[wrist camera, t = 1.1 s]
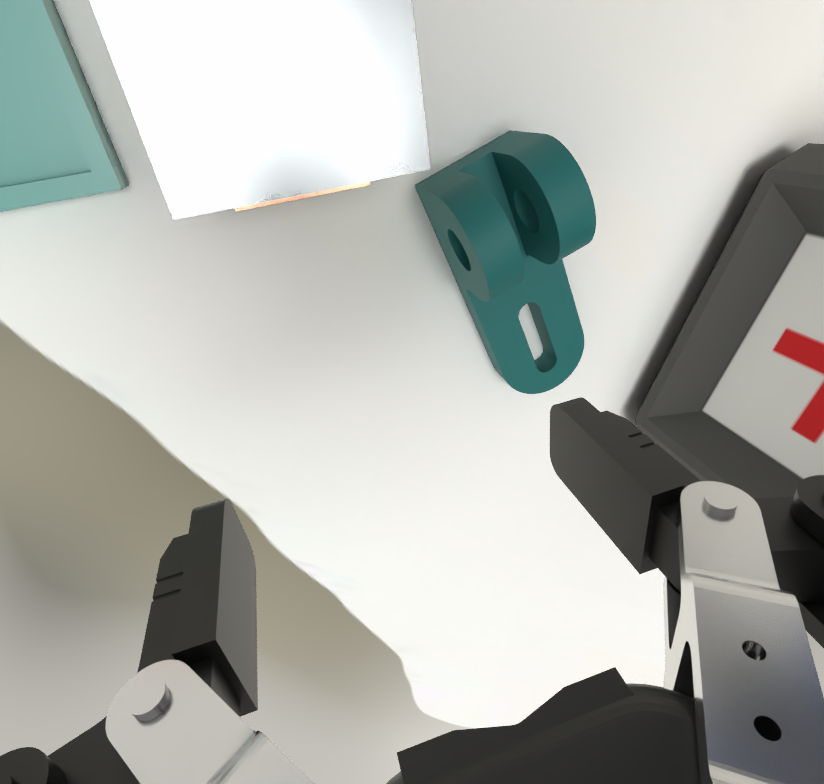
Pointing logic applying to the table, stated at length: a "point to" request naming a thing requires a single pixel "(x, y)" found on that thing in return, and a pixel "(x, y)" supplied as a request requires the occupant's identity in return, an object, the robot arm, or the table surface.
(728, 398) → the first aid kit
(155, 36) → the grey unit
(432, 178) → the bracket
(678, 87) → the table surface
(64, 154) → the teal tray
